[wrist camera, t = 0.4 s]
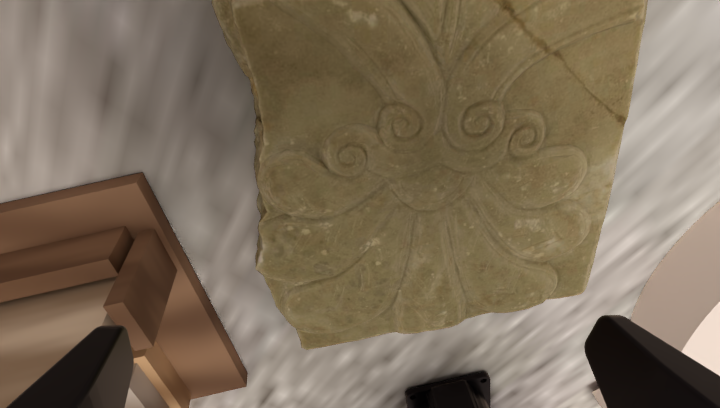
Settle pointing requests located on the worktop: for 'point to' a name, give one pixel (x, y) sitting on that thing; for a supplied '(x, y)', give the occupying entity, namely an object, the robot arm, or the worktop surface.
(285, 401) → the worktop surface
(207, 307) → the walnut rack
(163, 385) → the oak offcut
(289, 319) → the decorative tile
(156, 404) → the grey offcut
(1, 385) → the birch sheet
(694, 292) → the ring with crossbar
